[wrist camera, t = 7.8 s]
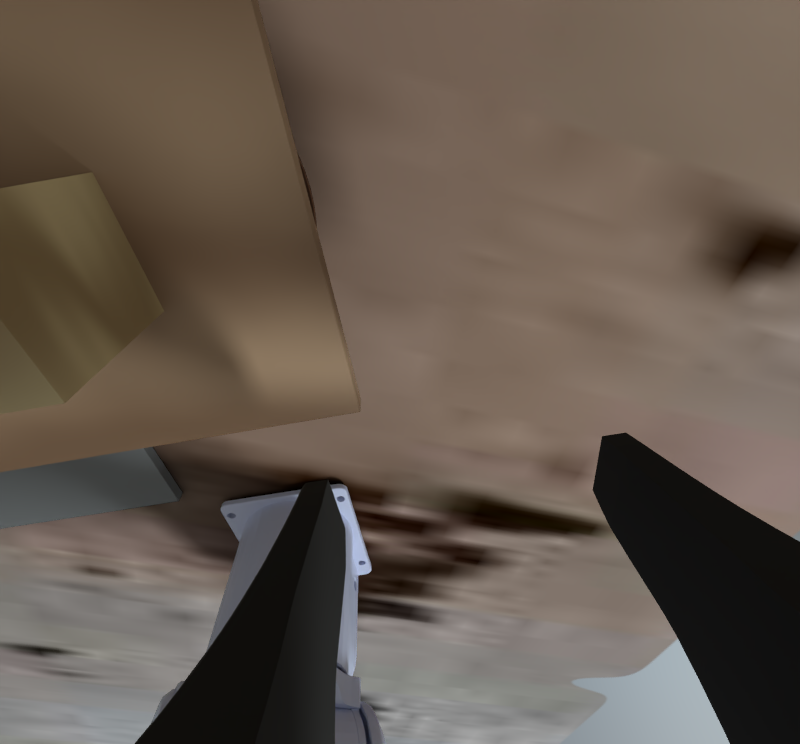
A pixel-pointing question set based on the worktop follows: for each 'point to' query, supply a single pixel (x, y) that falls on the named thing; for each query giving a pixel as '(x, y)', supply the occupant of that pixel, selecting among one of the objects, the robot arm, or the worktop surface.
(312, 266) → the lid
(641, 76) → the worktop surface
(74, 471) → the mat
